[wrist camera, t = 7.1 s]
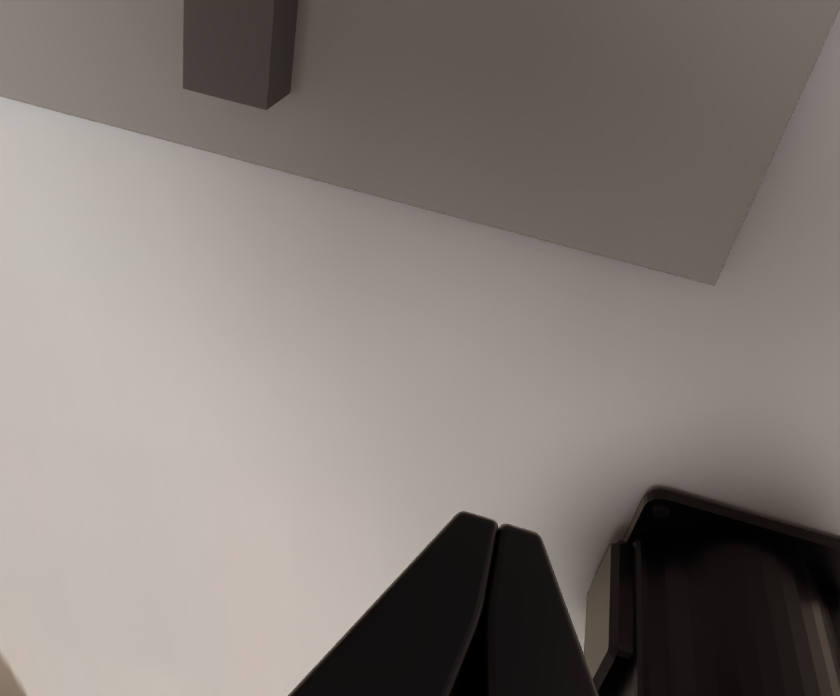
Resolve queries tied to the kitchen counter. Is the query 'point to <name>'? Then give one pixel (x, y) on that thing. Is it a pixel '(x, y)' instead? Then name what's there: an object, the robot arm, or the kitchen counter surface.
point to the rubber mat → (456, 102)
